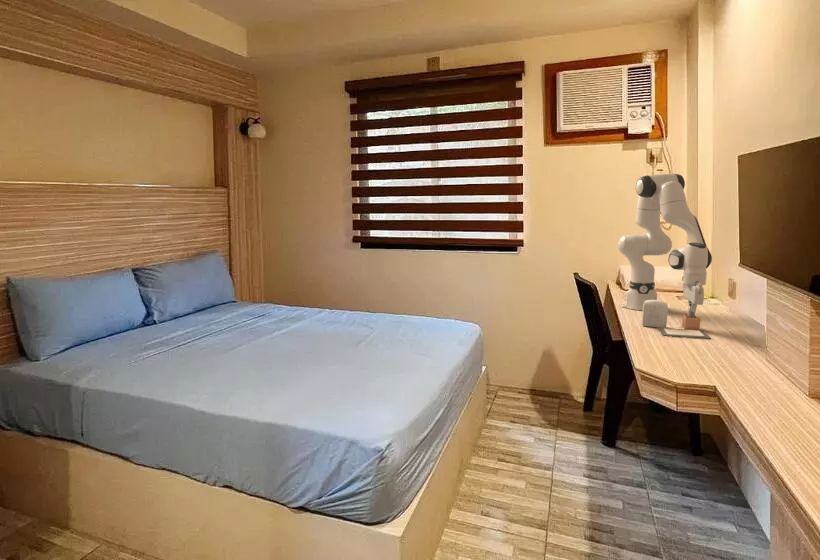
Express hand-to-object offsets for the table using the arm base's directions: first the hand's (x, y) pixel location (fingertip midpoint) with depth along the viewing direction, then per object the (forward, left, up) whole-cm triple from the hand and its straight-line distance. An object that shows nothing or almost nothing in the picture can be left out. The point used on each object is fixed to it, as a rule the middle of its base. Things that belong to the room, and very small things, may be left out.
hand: (692, 310), depth 226 cm
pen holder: (0, 0, -8) cm, 8 cm away
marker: (0, 0, -8) cm, 8 cm away
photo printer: (-1, -15, -9) cm, 17 cm away
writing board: (+10, -5, -8) cm, 14 cm away
